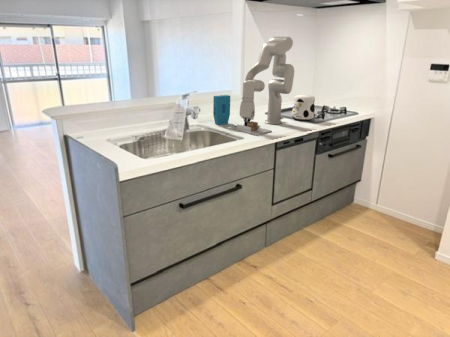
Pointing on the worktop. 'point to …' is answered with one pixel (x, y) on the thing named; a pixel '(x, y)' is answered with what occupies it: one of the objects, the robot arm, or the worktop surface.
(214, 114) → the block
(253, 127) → the walnut block
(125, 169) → the worktop surface
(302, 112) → the milk container
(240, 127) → the tube board
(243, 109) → the robot arm
